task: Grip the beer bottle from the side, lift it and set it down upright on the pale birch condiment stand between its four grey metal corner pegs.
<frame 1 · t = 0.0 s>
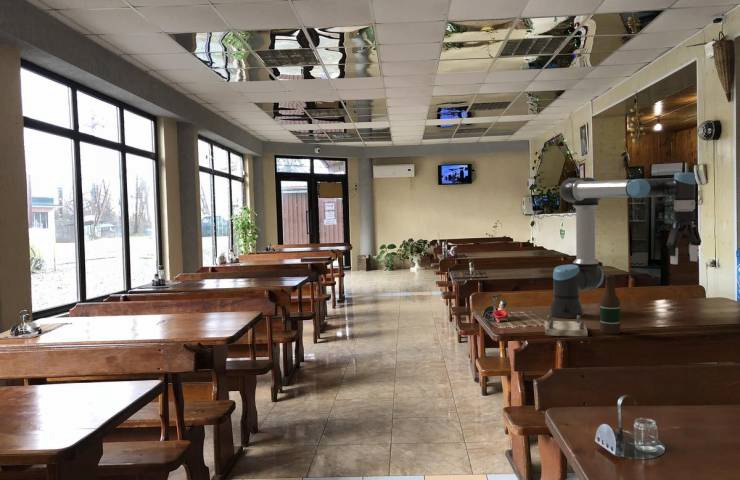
hand: (684, 262, 238), 28 cm above the table, tool pointing down, fingers open, 13 cm apart
condiment stand: (565, 331, 245), on the table
beer bottle: (610, 332, 240), on the table
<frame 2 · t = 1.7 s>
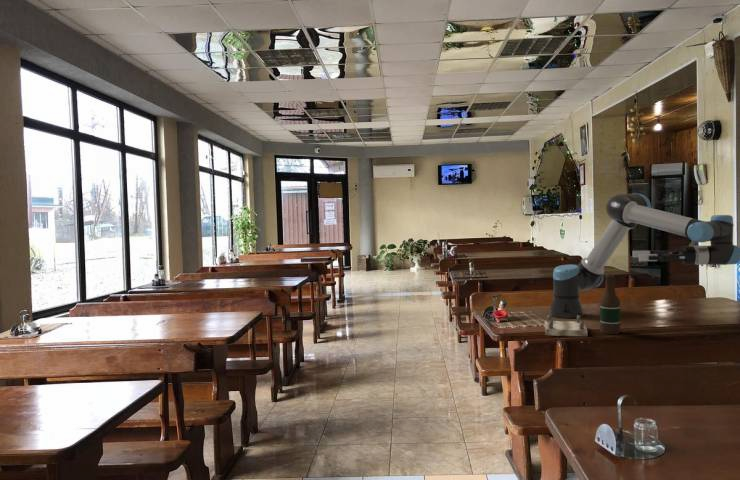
hand: (635, 255, 235), 32 cm above the table, tool horizontal, fingers open, 13 cm apart
nothing on the table moved.
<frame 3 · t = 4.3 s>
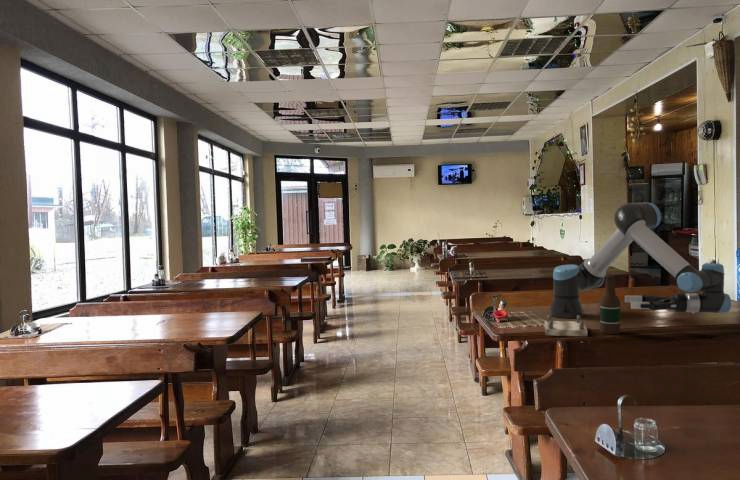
hand: (627, 302, 237), 13 cm above the table, tool horizontal, fingers open, 13 cm apart
nothing on the table moved.
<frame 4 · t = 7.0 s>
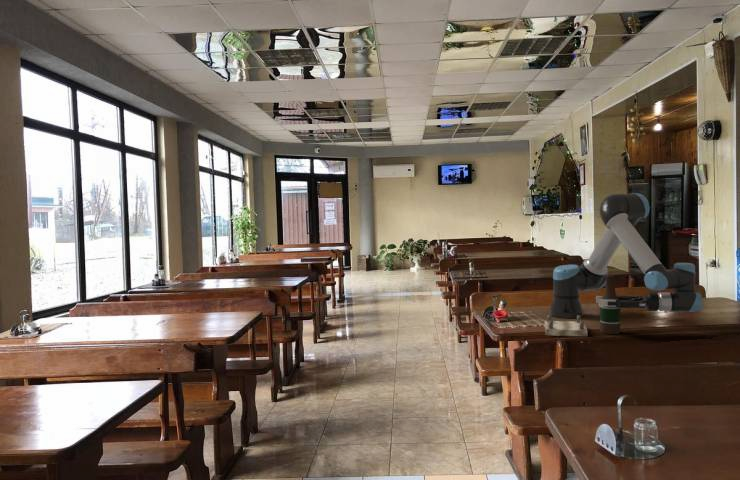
hand: (597, 301, 240), 13 cm above the table, tool horizontal, fingers closed on beer bottle, 7 cm apart
beer bottle: (610, 332, 240), on the table, touching gripper
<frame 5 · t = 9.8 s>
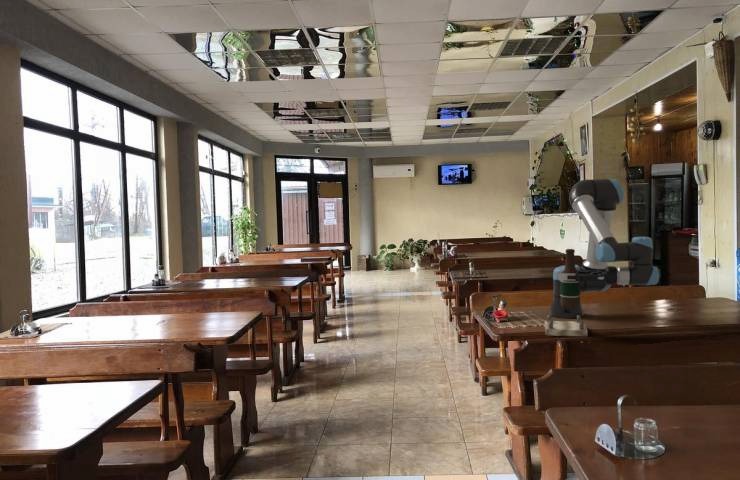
hand: (557, 275, 243), 24 cm above the table, tool horizontal, fingers closed on beer bottle, 7 cm apart
beer bottle: (570, 306, 243), point 11 cm above the table, touching gripper
when the fingers open (16 cm above the table, at t = 12.6 s): beer bottle stays where it is, resting on condiment stand.
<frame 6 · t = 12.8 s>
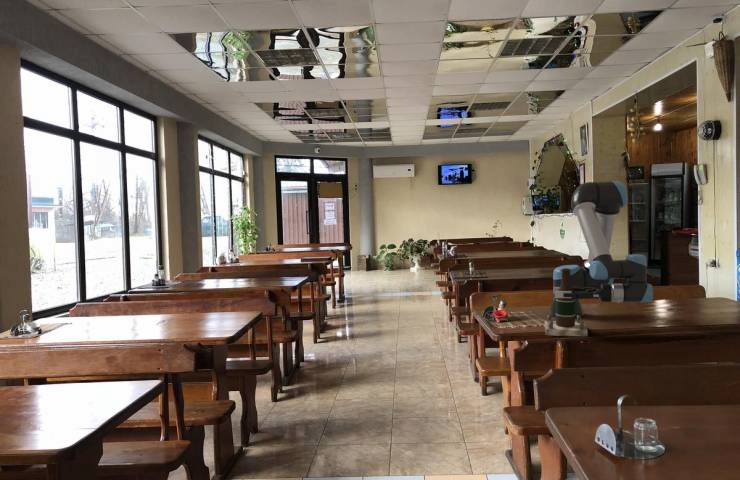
hand: (554, 292, 244), 16 cm above the table, tool horizontal, fingers open, 10 cm apart
beer bottle: (565, 325, 244), point 2 cm above the table, touching condiment stand
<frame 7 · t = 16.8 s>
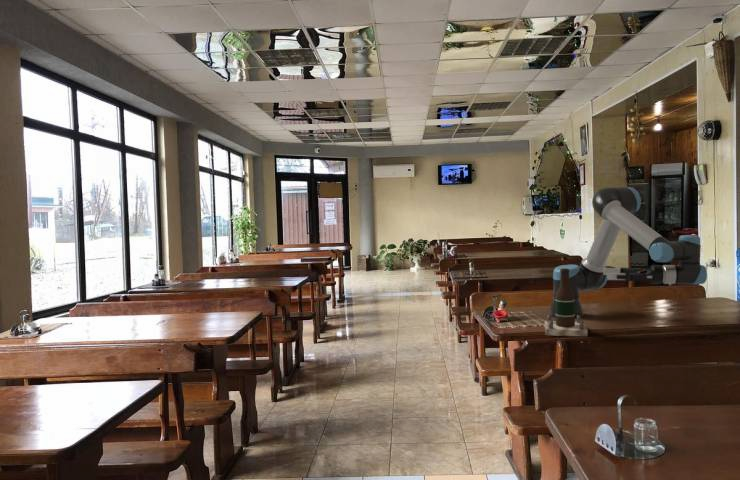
hand: (605, 273, 239), 24 cm above the table, tool horizontal, fingers open, 13 cm apart
nothing on the table moved.
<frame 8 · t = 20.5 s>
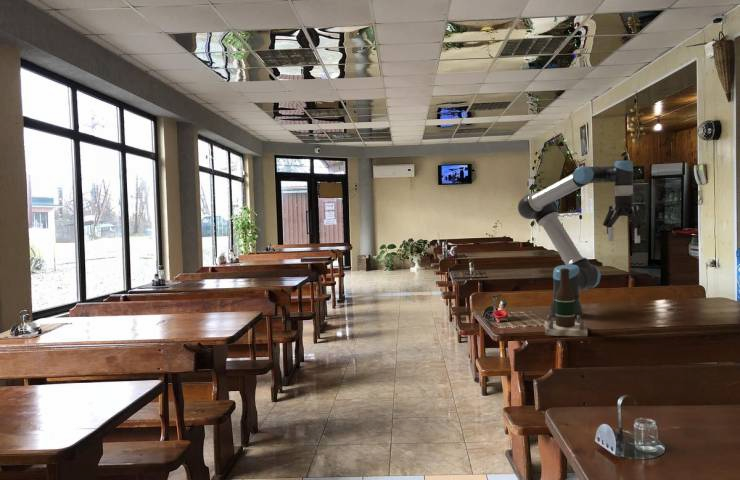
hand: (623, 242, 264), 35 cm above the table, tool pointing down, fingers open, 13 cm apart
nothing on the table moved.
at the end: beer bottle inside the target area on the condiment stand (0.0 cm from its centre), point 2.3 cm above the condiment stand's base; beer bottle tilted 0°; the gripper is holding nothing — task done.
